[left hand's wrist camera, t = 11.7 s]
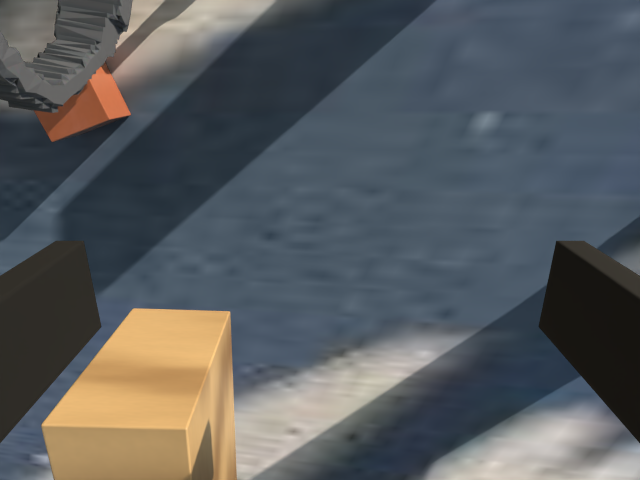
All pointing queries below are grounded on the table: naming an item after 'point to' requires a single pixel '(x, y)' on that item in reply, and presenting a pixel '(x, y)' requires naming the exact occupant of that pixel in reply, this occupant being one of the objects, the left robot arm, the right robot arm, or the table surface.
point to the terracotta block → (86, 108)
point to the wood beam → (151, 403)
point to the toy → (64, 55)
